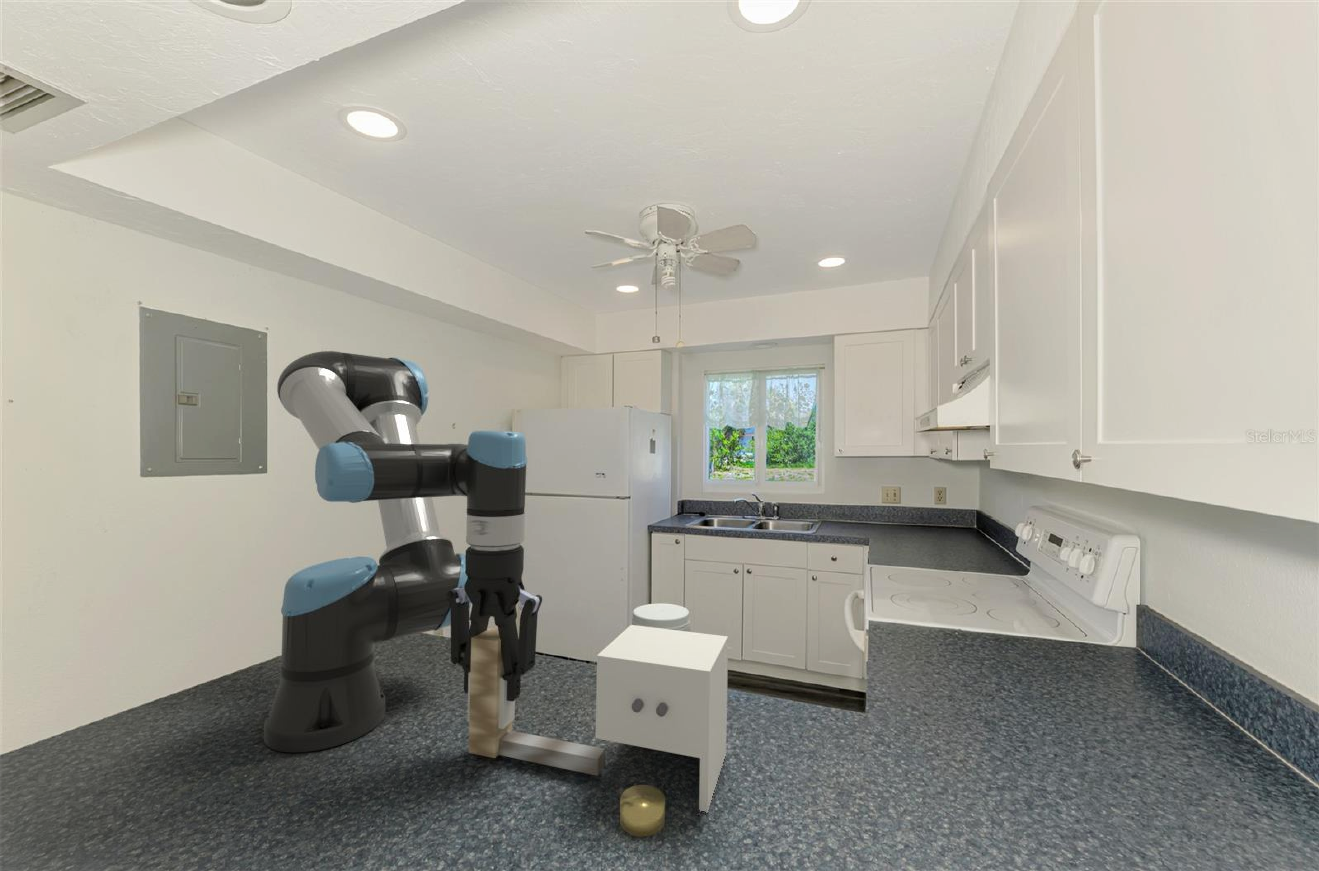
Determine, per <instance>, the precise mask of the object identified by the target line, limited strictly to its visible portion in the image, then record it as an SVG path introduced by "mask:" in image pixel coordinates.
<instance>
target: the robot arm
mask: <svg viewBox="0 0 1319 871" xmlns="http://www.w3.org/2000/svg"><path fill="white" fill-rule="evenodd" d="M276 385H277V387H276V388H277V396H278V399H279V401H280V403H281V405H282V407H283V408H284V409H285V410H286V411H287V412H288V413H289V414H290V415H291V416H292V417H294V418H296V419H298V420H300V422H301V423H302V425H303V427H304V429H305V430H306V431H307V433H308V435H309V436H310V438H311V439H312V441H313V443H314V444H315V446H316V448H317V449H318V450H319V451H318V452H317V455H316V460H315V466H314V467H315V468H314V480H315V484H316V489H317V493H318V495H319V497H320V498H321V499H322V500H324V501H326V502H331V503H333V502H334V503H335V502H336V503H337V502H338V503H339V502H343V503H344V502H345V503H346V502H348V503H351V504H352V503H353V504H354V503H355V504H356V503H361V502H369V501H377V502H378V508H379V511H380V512H379V513H380V517H381V518H380V519H381V524H382V528H383V534H384V535H383V536H384V540H385V545H386V548H385V550H384V551H383V552H382V554H381V555H380V557H379V559H378V563H377V561H376V560H375V558H373V557H369V556H355V557H350V558H349V557H344V558H343V557H342V558H337V559H332V560H329V561H324V562H321V563H317V564H314V565H311V566H308V567H305V568H303V569H301V570H299V571H297V572H296V573H294V574H292V576H291V577H289V578H288V580H287V581H286V582H285V585H284V591H283V599H282V606H281V608H280V609H281V610H280V613H281V614H282V625H281V626H282V631H281V633H282V635H281V636H282V637H281V661H280V662H281V663H280V664H281V666H280V667H281V668H280V681H279V684H278V686H277V689H276V693H275V696H274V699H273V700H272V704H271V707H270V711H269V712H268V714H267V715H266V718H265V719H264V724H263V743H264V744H265V745H266V746H267V747H268V748H269V749H272V750H274V751H278V752H284V753H308V752H315V751H321V750H325V749H326V750H327V749H330V748H334V747H338V746H340V745H344V744H347V743H349V742H351V741H354V740H356V739H359V738H361V737H363V736H364V735H367V734H368V733H369V732H371V731H372V730H374V729H375V728H376V727H378V726H379V725H380V724H381V723H382V721H383V719H385V715H386V696H385V693H384V692H383V690H382V686H381V682H380V678H379V676H378V673H377V669H376V667H375V662H374V661H375V660H374V659H375V657H374V656H375V645H376V644H379V643H383V642H387V641H392V640H396V639H401V638H404V637H409V636H413V635H414V636H415V635H418V634H422V633H426V632H431V631H435V632H436V631H439V630H441V629H442V628H447V627H450V662H451V664H453V665H457V664H458V665H459V666H461V667H462V670H463V691H464V692H463V693H464V694H467V721H466V722H467V723H469V713H470V673H471V638H472V637H474V636H477V635H479V634H481V633H483V632H484V631H486V630H487V629H488V628H489V627H488V626H489V622H490V619H491V617H493V620H494V621H493V622H494V624H495V626H497V629H498V631H499V638H500V639H501V651H502V658H503V664H504V671H505V674H504V675H503V676H501V677H500V679H499V721H498V728H501V729H504V728H505V727H506V726H507V725H508V724H509V723H511V722H512V723H513V721H515V719H516V718H515V717H516V716H515V715H516V711H515V710H516V700H517V699H519V698H520V695H521V685H522V684H521V678H522V676H523V675H525V674H526V673H528V672H529V671H530V670H532V669H533V668H534V667H535V665H536V650H537V649H536V648H537V646H536V645H537V634H538V633H537V630H538V629H537V628H538V614H539V610H540V607H541V605H542V602H543V596H542V595H540V594H536V595H532V594H531V593H529V592H527V591H526V590H525V585H524V583H523V579H522V578H523V574H524V567H525V566H524V558H525V555H524V553H525V551H524V550H525V549H524V547H523V545H521V544H522V543H524V541H525V515H526V514H525V506H526V505H525V504H526V481H527V480H526V478H527V463H528V458H527V456H526V454H527V452H526V437H525V435H524V433H521V432H520V431H508V430H507V431H503V430H475V431H472V432H471V433H470V435H468V436H469V437H468V444H464V443H444V444H442V443H441V444H440V443H438V444H437V443H436V444H435V443H431V444H429V443H420V440H419V435H418V431H417V425H418V424H419V423H420V421H421V419H422V416H423V415H424V414H425V412H427V409H428V404H429V396H428V393H429V387H428V381H427V378H426V376H425V374H424V372H423V370H422V369H421V367H420V366H419V365H418V364H417V363H415V362H412V361H410V360H405V359H400V358H398V357H387V358H386V357H380V356H371V355H364V354H358V353H357V354H356V353H349V352H340V351H333V350H329V351H327V350H325V351H323V350H322V351H318V352H317V351H316V352H312V353H308V354H305V355H303V356H300V357H299V358H297V359H295V360H294V361H292V362H291V363H289V364H288V365H287V366H286V367H285V368H284V369H283V371H282V372H281V374H280V375H279V378H278V380H277V384H276ZM441 497H443V498H444V497H466V531H465V532H466V534H465V542H466V543H467V545H469V546H468V547H467V548H466V549H465V554H463V553H457V552H456V554H455V550H454V546H453V542H452V539H449V538H448V537H446V536H444V535H442V534H441V530H440V528H439V527H440V526H439V523H438V519H437V513H436V510H435V506H434V501H433V498H441ZM378 564H379V565H378ZM519 602H520V605H519V610H520V611H521V612H520V617H519V627H517V618H518V612H517V604H518V603H519ZM470 608H471V609H470ZM518 628H519V629H518Z"/></svg>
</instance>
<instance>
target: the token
mask: <svg viewBox="0 0 1319 871" xmlns="http://www.w3.org/2000/svg"><path fill="white" fill-rule="evenodd" d="M619 800H620V801H619V824H620V827H621V829H622V830H623V831H624V832H626V833H627V834H629V835H631V836H634V837H640V838H641V837H643V838H645V837H650V836H653V835H655V834H658V833H660V832H661V831H662V829H663V828H664V826H665V822H666V797H665V794H664V792H663V791H661V790H660V789H659V788H657V787H655V786H654V785H653V786H652V785H649V784H638V785H633V786H631V787H628V788H627V789H625V790H623V791H622V793H621V795H620V798H619Z"/></svg>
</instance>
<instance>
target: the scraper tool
mask: <svg viewBox="0 0 1319 871" xmlns="http://www.w3.org/2000/svg"><path fill="white" fill-rule="evenodd" d="M504 674H505V671H504V664H503V658H502V651H501V639H500V638H499V631H498V628H491V627H490V628H489V627H488V628H487V630H486V631H484V632H483V633H481V634H479V635H477V636H474V637H472V638H471V673H470V713H469V722H468V724H469V725H468V726H469V727H468V753H470V754H474V755H479V756H483V757H487V758H493V759H496V758H497V757H498V756H502V757H506V758H507V757H508V758H512V759H516V760H521V761H526V762H531V763H536V764H540V765H545V766H549V767H554V768H560V769H564V770H569V771H573V772H577V773H584V774H588V775H593V776H599V774H600V772H602V770H603V769H604V767H605V765H606V748H604V747H603V748H602V747H597V746H593V745H587V744H582V743H576V742H573V741H572V742H571V741H567V740H560V739H555V738H550V737H547V736H540V735H534V734H531V733H530V734H529V733H525V732H519V731H515V730H513V721H512V722H511V723H509V724H508V725H507V726H506V727H505V728H504V729H501V728H498V721H499V679H500V677H501V676H503V675H504Z"/></svg>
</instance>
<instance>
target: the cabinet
mask: <svg viewBox="0 0 1319 871" xmlns="http://www.w3.org/2000/svg"><path fill="white" fill-rule="evenodd" d="M728 645H729V636H726V635H718V634H709V633H702V632H693V631H690V632H686V631H678V630H670V629H662V628H653V627H645V626H637V625H632V624H630V625H629V626H628V627H627V628H626V629H625V630H624V631H623V632H621V633H620V634H619V635H618V636H617V637H616V638H615V639H614V640H612V641H611V642H610V643H609V644H608V645H607V646H606V647H605V648H603V649H602V650H601V651H600V652H599V653H598V654H597V655H596V695H595V696H596V698H595V700H596V701H595V739H597V740H604V741H607V742H614V743H619V744H624V745H629V746H635V747H639V748H645V749H650V750H655V751H661V752H665V753H670V754H671V753H672V754H676V755H682V756H686V757H692V758H697V759H699V786H698V787H699V792H698V794H699V798H698V801H699V802H698V803H699V804H698V811H699V810H700V811H699V812H701V811H705V812H706V813H705V812H704V813H705V814H708V813H709V811H708V810H710V807H711V804H712V801H713V798H712V796H713V797H714V795H713V793H714V794H715V792H714V790H715V791H716V789H715V787H716V788H717V786H716V784H717V785H718V783H717V781H718V782H719V780H718V777H719V775H720V776H721V774H720V771H721V772H722V770H721V768H722V769H723V767H722V766H724V764H723V762H724V763H725V761H724V759H725V760H726V758H725V756H726V757H727V731H728V730H727V728H728V727H727V724H728V723H727V720H728V718H727V717H728V716H727V715H728V668H729V666H728V664H729V663H728V659H729V658H728V656H729V654H728V653H729V646H728ZM719 778H720V777H719ZM711 800H712V801H711ZM710 803H711V804H710ZM709 806H710V807H709Z"/></svg>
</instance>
